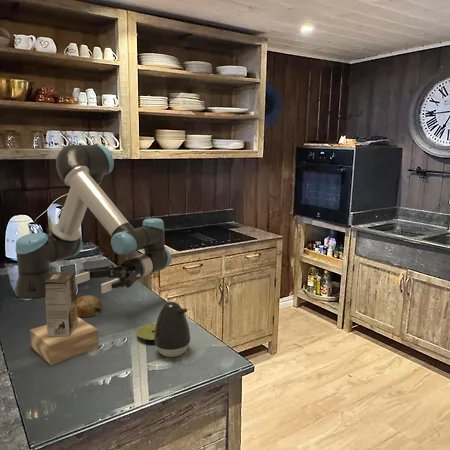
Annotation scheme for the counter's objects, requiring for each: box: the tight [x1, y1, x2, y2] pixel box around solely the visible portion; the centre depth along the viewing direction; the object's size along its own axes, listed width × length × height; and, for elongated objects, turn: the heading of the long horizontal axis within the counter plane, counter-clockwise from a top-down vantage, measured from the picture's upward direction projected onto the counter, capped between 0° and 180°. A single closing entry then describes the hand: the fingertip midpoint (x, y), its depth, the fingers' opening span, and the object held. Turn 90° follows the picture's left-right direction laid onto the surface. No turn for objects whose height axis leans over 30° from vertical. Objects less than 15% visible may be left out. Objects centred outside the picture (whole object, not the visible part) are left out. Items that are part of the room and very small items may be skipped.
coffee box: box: [44, 271, 78, 336], centre depth 118 cm, size 9×6×16 cm
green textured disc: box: [136, 322, 157, 341], centre depth 127 cm, size 11×11×2 cm
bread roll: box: [76, 294, 103, 318], centre depth 145 cm, size 10×10×8 cm
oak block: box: [29, 317, 100, 366], centre depth 120 cm, size 14×14×6 cm
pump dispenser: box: [153, 301, 191, 358], centre depth 116 cm, size 10×10×15 cm
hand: (86, 284), depth 125 cm, fingers open, 13 cm apart
